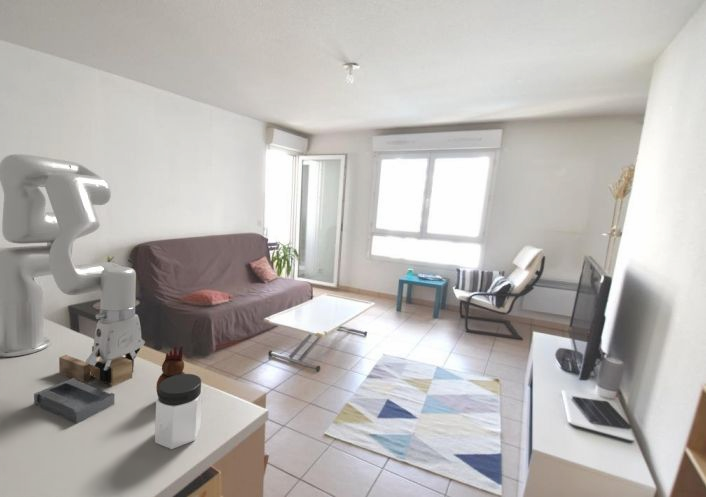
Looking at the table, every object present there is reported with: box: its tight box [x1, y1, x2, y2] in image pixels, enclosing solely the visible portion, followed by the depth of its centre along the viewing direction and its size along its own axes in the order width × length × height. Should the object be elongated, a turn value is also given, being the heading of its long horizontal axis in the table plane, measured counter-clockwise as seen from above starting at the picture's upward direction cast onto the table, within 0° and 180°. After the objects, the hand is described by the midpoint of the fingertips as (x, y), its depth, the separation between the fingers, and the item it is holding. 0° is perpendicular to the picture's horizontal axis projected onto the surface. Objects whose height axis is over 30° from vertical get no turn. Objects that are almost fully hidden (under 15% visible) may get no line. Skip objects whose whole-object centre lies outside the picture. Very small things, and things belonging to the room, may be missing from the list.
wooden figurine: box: [155, 343, 186, 396], centre depth 80 cm, size 7×6×15 cm
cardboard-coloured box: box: [90, 356, 133, 387], centre depth 88 cm, size 10×5×5 cm, turn 66°
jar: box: [154, 373, 203, 450], centre depth 69 cm, size 9×8×12 cm
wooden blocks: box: [58, 345, 94, 383], centre depth 91 cm, size 10×10×4 cm
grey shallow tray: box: [33, 377, 115, 424], centre depth 76 cm, size 15×8×3 cm, turn 71°
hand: (117, 376), depth 87 cm, fingers closed on cardboard-coloured box, 5 cm apart
